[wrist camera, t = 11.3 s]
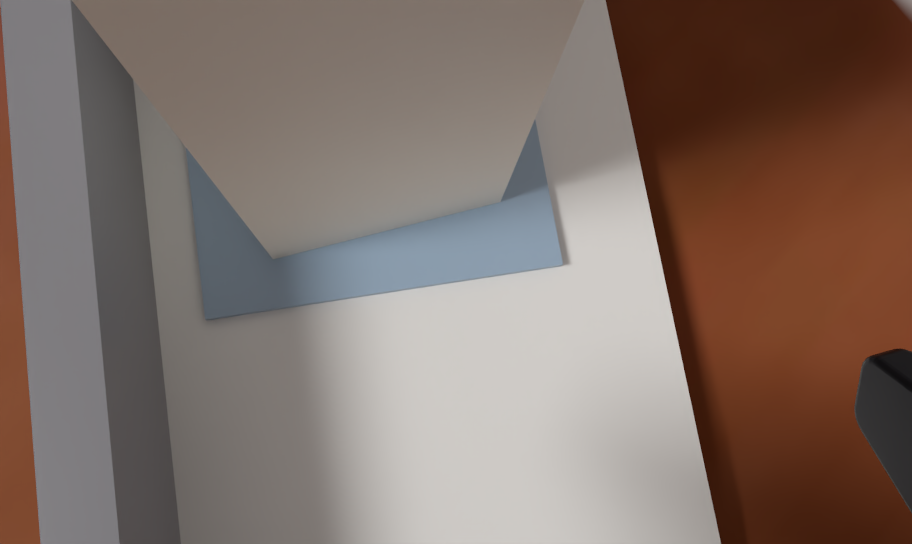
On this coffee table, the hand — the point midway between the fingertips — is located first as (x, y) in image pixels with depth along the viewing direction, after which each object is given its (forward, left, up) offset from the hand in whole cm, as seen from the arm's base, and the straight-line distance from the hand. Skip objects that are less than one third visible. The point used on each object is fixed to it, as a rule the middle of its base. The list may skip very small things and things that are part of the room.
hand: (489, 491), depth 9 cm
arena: (+4, +1, -9) cm, 10 cm away
